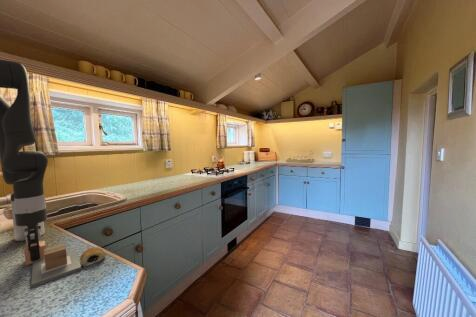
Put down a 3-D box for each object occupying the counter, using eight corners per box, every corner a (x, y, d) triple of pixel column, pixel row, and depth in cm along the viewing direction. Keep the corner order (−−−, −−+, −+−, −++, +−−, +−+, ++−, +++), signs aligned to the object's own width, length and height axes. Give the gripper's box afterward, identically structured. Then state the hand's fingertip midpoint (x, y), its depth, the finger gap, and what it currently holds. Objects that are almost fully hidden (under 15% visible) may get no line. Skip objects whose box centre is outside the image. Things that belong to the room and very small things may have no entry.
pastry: (80, 256, 71) (79, 246, 70) (103, 250, 75) (102, 240, 75) (80, 269, 63) (80, 257, 63) (106, 261, 68) (105, 250, 67)
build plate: (33, 264, 66) (32, 261, 66) (75, 251, 74) (75, 248, 74) (31, 288, 55) (31, 284, 55) (81, 269, 63) (81, 266, 62)
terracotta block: (26, 259, 69) (24, 245, 69) (46, 253, 73) (44, 240, 72) (25, 265, 66) (24, 250, 65) (46, 258, 69) (45, 245, 69)
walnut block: (45, 264, 64) (44, 249, 64) (65, 257, 68) (64, 243, 68) (45, 270, 61) (44, 254, 60) (67, 263, 64) (65, 248, 64)
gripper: (16, 207, 70) (21, 254, 71) (12, 216, 60) (18, 270, 61) (45, 203, 76) (49, 246, 77) (46, 210, 66) (51, 260, 67)
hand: (35, 256), depth 69 cm, fingers closed on terracotta block, 5 cm apart
